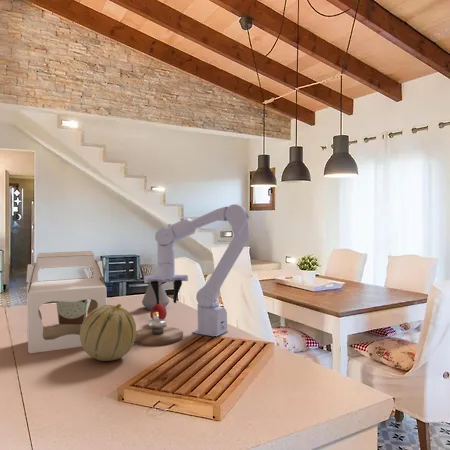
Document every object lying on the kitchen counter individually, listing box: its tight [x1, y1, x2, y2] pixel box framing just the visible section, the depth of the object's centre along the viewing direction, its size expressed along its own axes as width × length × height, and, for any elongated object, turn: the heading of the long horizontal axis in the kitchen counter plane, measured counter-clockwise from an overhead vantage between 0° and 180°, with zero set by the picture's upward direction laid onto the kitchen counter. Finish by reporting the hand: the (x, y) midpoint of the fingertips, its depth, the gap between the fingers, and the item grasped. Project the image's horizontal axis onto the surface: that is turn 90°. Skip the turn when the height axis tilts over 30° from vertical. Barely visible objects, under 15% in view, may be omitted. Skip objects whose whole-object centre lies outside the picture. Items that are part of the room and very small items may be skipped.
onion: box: [149, 301, 167, 320], centre depth 149 cm, size 6×6×8 cm
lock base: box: [134, 326, 184, 346], centre depth 131 cm, size 16×16×4 cm
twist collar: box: [148, 312, 168, 328], centre depth 135 cm, size 14×6×2 cm, turn 13°
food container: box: [54, 299, 90, 326], centre depth 151 cm, size 12×6×10 cm, turn 84°
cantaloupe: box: [80, 303, 137, 362], centre depth 111 cm, size 15×15×15 cm
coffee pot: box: [141, 279, 171, 311], centre depth 171 cm, size 21×12×15 cm, turn 32°
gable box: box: [25, 250, 108, 354], centre depth 127 cm, size 22×13×28 cm, turn 117°
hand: (166, 303), depth 140 cm, fingers open, 5 cm apart
